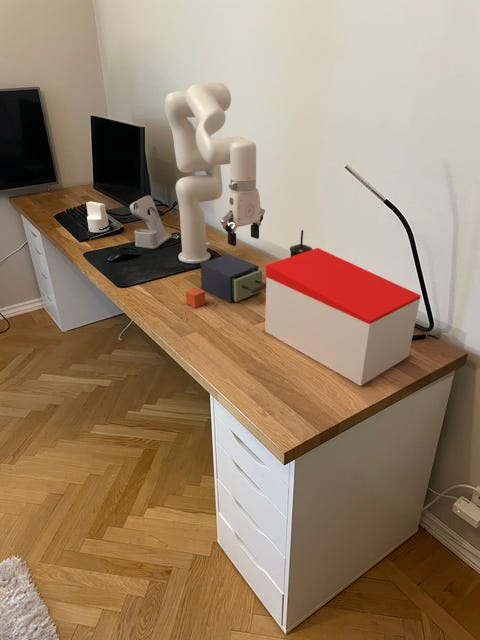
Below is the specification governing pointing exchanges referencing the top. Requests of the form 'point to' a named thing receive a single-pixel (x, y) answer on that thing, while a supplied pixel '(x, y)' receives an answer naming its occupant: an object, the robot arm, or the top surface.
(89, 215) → the base with upright slab
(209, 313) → the top surface
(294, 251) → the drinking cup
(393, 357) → the red-lidded white box
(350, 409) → the top surface
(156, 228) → the phone holder
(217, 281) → the cabinet
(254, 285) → the drawer
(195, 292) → the block
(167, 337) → the top surface
